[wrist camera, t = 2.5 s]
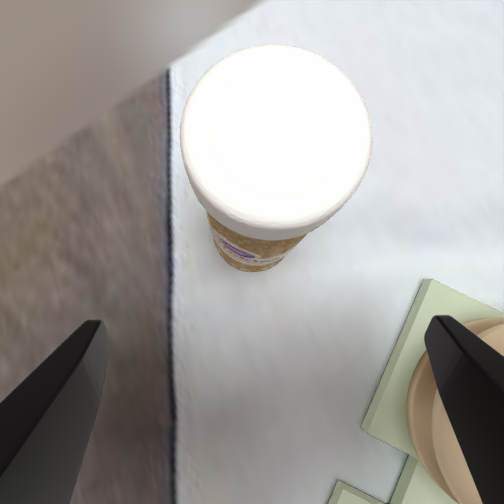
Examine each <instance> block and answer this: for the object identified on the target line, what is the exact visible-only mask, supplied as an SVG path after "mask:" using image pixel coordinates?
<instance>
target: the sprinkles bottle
mask: <svg viewBox="0 0 504 504" xmlns="http://www.w3.org/2000/svg"><path fill="white" fill-rule="evenodd" d="M180 145H181V152H182V157H183V161H184V165H185V169H186V172H187V175H188V178H189V181H190V183H191V186H192V188H193V190H194V193H195V194H196V196H197V198H198V200H199V201H200V203H201V204H202V205H203V207H204V208H205V209H206V211H207V217H208V221H209V225H210V228H211V231H212V233H213V236H214V242H215V245H216V248H217V250H218V251H219V253H220V255H221V256H222V257H223V258H224V259H225V260H226V261H227V262H228V263H229V264H230V265H231V266H233V267H235V268H237V269H239V270H243V271H249V272H258V271H264V270H267V269H269V268H271V267H273V266H275V265H276V264H278V263H279V262H280V261H281V260H282V259H283V258H284V256H285V255H286V254H287V253H288V252H289V251H290V250H292V249H293V248H294V247H295V246H296V245H297V244H298V243H299V242H300V241H301V240H302V239H303V238H304V237H305V236H306V235H307V234H308V233H309V232H311V231H313V230H314V229H316V228H318V227H319V226H321V225H322V224H324V223H325V222H326V221H327V220H329V219H330V218H331V217H332V216H333V215H334V214H335V213H336V212H337V211H339V209H340V208H341V207H342V206H343V205H344V204H345V203H346V202H347V201H348V200H349V199H350V198H351V196H352V195H353V194H354V192H355V191H356V190H357V188H358V186H359V185H360V183H361V181H362V179H363V177H364V175H365V173H366V170H367V167H368V164H369V160H370V155H371V149H372V132H371V124H370V119H369V115H368V111H367V108H366V106H365V103H364V101H363V99H362V97H361V95H360V94H359V92H358V90H357V89H356V87H355V86H354V85H353V83H352V82H351V81H350V79H349V78H348V77H347V76H346V75H345V74H344V73H343V72H342V71H341V70H340V69H339V68H337V67H336V66H335V65H334V64H332V63H331V62H330V61H328V60H326V59H325V58H323V57H321V56H319V55H317V54H315V53H313V52H310V51H308V50H304V49H301V48H298V47H294V46H287V45H260V46H254V47H249V48H246V49H243V50H240V51H238V52H235V53H233V54H231V55H229V56H227V57H225V58H223V59H222V60H220V61H219V62H218V63H216V64H215V65H213V66H212V67H211V68H210V69H209V70H208V71H207V72H206V73H205V74H204V75H203V76H202V77H201V78H200V80H199V81H198V82H197V84H196V85H195V86H194V88H193V90H192V91H191V93H190V95H189V97H188V100H187V102H186V105H185V107H184V110H183V115H182V119H181V125H180Z"/></svg>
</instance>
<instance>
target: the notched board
mask: <svg viewBox="0 0 504 504" xmlns="http://www.w3.org/2000/svg"><path fill="white" fill-rule="evenodd" d="M435 315H450V316H452V317H453V318H454V319H456V320H457V321H458V322H460V323H461V324H462V323H464V322H468V321H471V320H476V319H483V318H503V319H504V314H503V313H501V312H499V311H497V310H495V309H493V308H491V307H489V306H487V305H485V304H483V303H481V302H479V301H477V300H475V299H473V298H471V297H469V296H466V295H464V294H462V293H460V292H458V291H456V290H454V289H452V288H450V287H448V286H446V285H444V284H442V283H440V282H438V281H436V280H434V279H426V280H423V282H422V284H421V287H420V289H419V292H418V294H417V296H416V299H415V301H414V303H413V306H412V308H411V310H410V313H409V315H408V317H407V320H406V322H405V324H404V327H403V329H402V331H401V334H400V336H399V338H398V341H397V343H396V345H395V348H394V350H393V352H392V355H391V357H390V359H389V362H388V364H387V366H386V369H385V371H384V374H383V376H382V378H381V381H380V383H379V385H378V388H377V390H376V392H375V395H374V397H373V399H372V402H371V404H370V406H369V409H368V411H367V413H366V416H365V418H364V420H363V423H362V425H361V428H362V429H363V430H364V431H365V432H366V433H367V434H369V435H371V436H373V437H375V438H377V439H379V440H381V441H383V442H385V443H387V444H389V445H391V446H393V447H395V448H397V449H399V450H401V451H403V452H405V453H407V454H409V456H408V459H407V461H406V464H405V466H404V469H403V471H402V474H401V476H400V479H399V481H398V484H397V486H396V489H395V491H394V493H393V496H392V498H391V501H390V503H389V504H458V503H457V502H456V501H454V500H453V499H452V498H451V497H450V496H449V495H447V494H446V493H445V492H444V491H443V490H442V489H441V488H440V487H439V486H438V485H437V484H436V483H435V482H434V481H433V480H432V478H431V477H430V476H429V474H428V473H427V472H426V470H425V469H424V467H423V465H422V464H421V462H420V460H419V459H418V456H417V454H416V452H415V450H414V447H413V444H412V441H411V438H410V434H409V429H408V423H407V410H406V406H407V394H408V389H409V384H410V381H411V378H412V375H413V372H414V370H415V367H416V365H417V363H418V361H419V360H420V358H421V357H422V355H423V354H424V352H425V351H426V346H425V342H424V335H425V332H426V330H427V327H428V325H429V323H430V321H431V319H432V317H433V316H435ZM328 504H384V503H382V502H381V501H379V500H377V499H375V498H373V497H371V496H369V495H367V494H365V493H363V492H361V491H359V490H357V489H355V488H353V487H351V486H349V485H347V484H345V483H343V482H341V481H339V480H338V481H337V484H336V486H335V488H334V491H333V493H332V495H331V498H330V500H329V502H328Z"/></svg>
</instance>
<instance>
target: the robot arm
mask: <svg viewBox="0 0 504 504" xmlns="http://www.w3.org/2000/svg"><path fill="white" fill-rule="evenodd" d="M424 342H425V346H426V350H427V353H428V357H429V361H430V364H431V368H432V371H433V375H434V379H435V382H436V386H437V389H438V392H439V395H440V398H441V401H442V403H443V406H444V408H445V411H446V413H447V416H448V418H449V421H450V423H451V426H452V428H453V431H454V433H455V436H456V438H457V441H458V443H459V446H460V448H461V451H462V453H463V456H464V458H465V461H466V463H467V466H468V468H469V471H470V473H471V476H472V478H473V481H474V483H475V486H476V488H477V491H478V493H479V496H480V498H481V501H482V503H483V504H504V356H503V355H501V354H500V353H499V352H497V351H496V350H495V349H494V348H492V347H491V346H490V345H488V344H487V343H486V342H484V341H483V340H482V339H481V338H479V337H478V336H477V335H475V334H474V333H473V332H471V331H470V330H469V329H467V328H466V327H465V326H464V325H462V324H461V323H460V322H458V321H457V320H456V319H454V318H453V317H452V316H450V315H435V316H433V317H432V319H431V321H430V323H429V325H428V327H427V330H426V332H425V335H424ZM109 350H110V339H109V336H108V333H107V330H106V327H105V324H104V322H103V321H102V320H87V321H85V322H84V323H83V324H82V325H81V326H80V327H79V328H78V329H77V330H76V331H75V332H73V333H72V334H71V335H70V336H69V337H68V338H67V339H66V340H65V341H64V342H63V343H62V344H61V345H60V346H59V347H58V348H57V349H56V350H55V351H54V352H53V353H52V354H51V355H50V356H49V357H48V358H47V359H45V360H44V361H43V362H42V363H41V364H40V365H39V366H38V367H37V368H36V369H35V370H34V371H33V372H32V373H31V374H30V375H29V376H28V377H27V378H26V379H25V380H24V381H23V382H22V383H21V384H20V385H19V386H17V387H16V388H15V389H14V390H13V391H12V392H11V393H10V394H9V395H8V396H7V397H6V398H5V399H4V400H3V401H2V402H1V403H0V504H70V501H71V497H72V494H73V491H74V487H75V484H76V481H77V477H78V474H79V471H80V467H81V464H82V461H83V457H84V454H85V451H86V447H87V444H88V441H89V437H90V434H91V431H92V427H93V424H94V421H95V417H96V414H97V411H98V407H99V403H100V399H101V394H102V389H103V383H104V378H105V372H106V366H107V361H108V355H109Z"/></svg>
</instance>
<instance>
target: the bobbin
mask: <svg viewBox="0 0 504 504" xmlns="http://www.w3.org/2000/svg"><path fill="white" fill-rule="evenodd" d="M462 325H464V326H465V327H466V328H467V329H469V330H470V331H471V332H473V333H474V334H475V335H477V336H478V337H479V338H481V339H482V340H483V341H484V342H486V343H487V344H488V345H490V346H491V347H492V348H494V349H495V350H496V351H497V352H499V353H500V354H501V355H503V356H504V319H503V318H483V319H476V320H471V321H468V322H464V323H462ZM406 410H407V423H408V429H409V434H410V438H411V441H412V444H413V447H414V450H415V452H416V454H417V456H418V459H419V460H420V462H421V464H422V465H423V467H424V469H425V470H426V472H427V473H428V474H429V476H430V477H431V478H432V480H433V481H434V482H435V483H436V484H437V485H438V486H439V487H440V488H441V489H442V490H443V491H444V492H445V493H446V494H447V495H449V496H450V497H451V498H452V499H453V500H454V501H456V502H457V503H458V504H483V503H482V501H481V498H480V496H479V493H478V491H477V488H476V486H475V483H474V481H473V478H472V476H471V473H470V471H469V468H468V466H467V463H466V461H465V458H464V456H463V453H462V451H461V448H460V446H459V443H458V441H457V438H456V436H455V433H454V431H453V428H452V426H451V423H450V421H449V418H448V416H447V413H446V411H445V408H444V406H443V403H442V401H441V398H440V395H439V392H438V389H437V386H436V382H435V379H434V375H433V371H432V368H431V364H430V361H429V357H428V353H427V350H426V351H425V352H424V354H423V355H422V357H421V358H420V360H419V361H418V363H417V365H416V367H415V370H414V372H413V375H412V378H411V381H410V384H409V389H408V394H407V406H406Z"/></svg>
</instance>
